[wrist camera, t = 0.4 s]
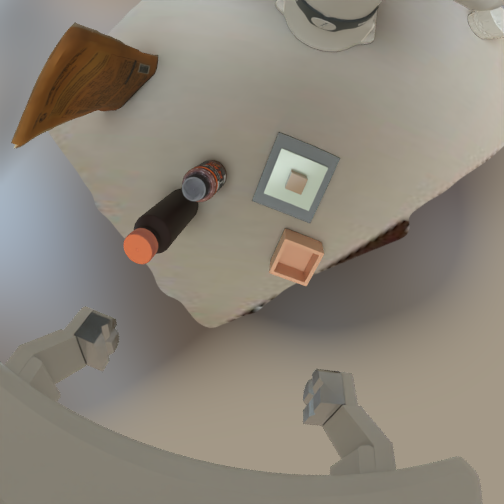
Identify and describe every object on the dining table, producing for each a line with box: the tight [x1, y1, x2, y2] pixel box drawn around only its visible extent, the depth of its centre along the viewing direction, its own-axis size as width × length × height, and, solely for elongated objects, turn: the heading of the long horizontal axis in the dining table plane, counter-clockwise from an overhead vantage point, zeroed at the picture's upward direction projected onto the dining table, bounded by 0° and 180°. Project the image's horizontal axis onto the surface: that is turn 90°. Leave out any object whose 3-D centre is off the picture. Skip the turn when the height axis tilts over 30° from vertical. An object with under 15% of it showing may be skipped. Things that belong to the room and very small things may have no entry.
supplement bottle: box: [182, 160, 226, 202], centre depth 46 cm, size 6×6×11 cm
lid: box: [264, 148, 328, 211], centre depth 47 cm, size 9×9×4 cm
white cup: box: [468, 7, 504, 39], centre depth 21 cm, size 8×8×10 cm
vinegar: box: [124, 189, 198, 264], centre depth 46 cm, size 7×7×20 cm
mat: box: [252, 132, 340, 223], centre depth 49 cm, size 14×12×1 cm
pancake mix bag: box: [11, 23, 158, 149], centre depth 31 cm, size 7×19×28 cm, turn 126°
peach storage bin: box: [269, 228, 324, 286], centre depth 54 cm, size 8×8×5 cm
